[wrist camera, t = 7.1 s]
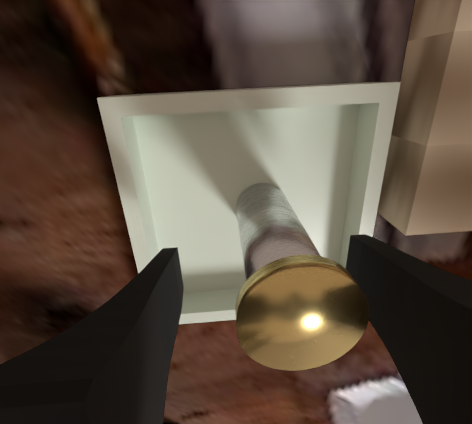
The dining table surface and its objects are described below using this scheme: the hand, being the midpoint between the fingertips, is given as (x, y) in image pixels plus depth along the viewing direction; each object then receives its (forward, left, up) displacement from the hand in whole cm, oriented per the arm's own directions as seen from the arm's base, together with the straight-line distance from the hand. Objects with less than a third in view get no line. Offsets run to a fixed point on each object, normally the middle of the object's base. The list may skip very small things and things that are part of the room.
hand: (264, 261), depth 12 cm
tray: (0, 0, -6) cm, 6 cm away
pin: (0, -1, -5) cm, 5 cm away
